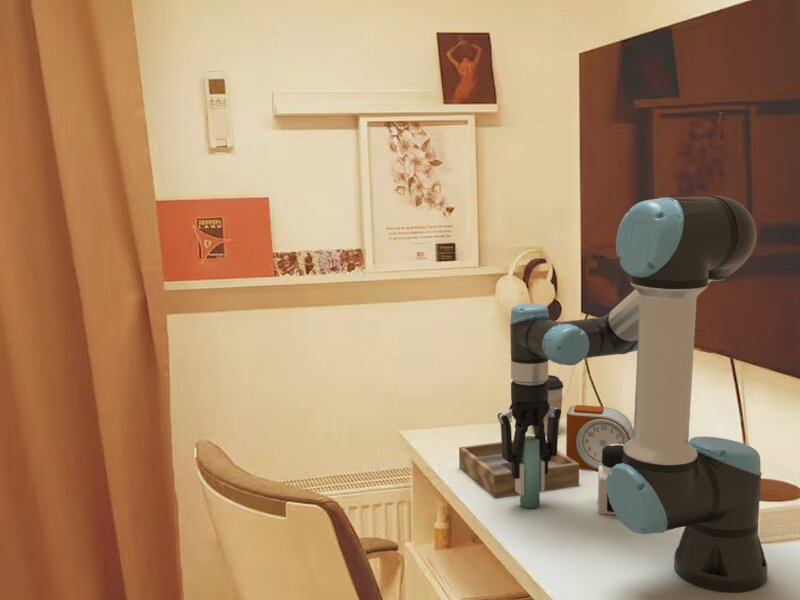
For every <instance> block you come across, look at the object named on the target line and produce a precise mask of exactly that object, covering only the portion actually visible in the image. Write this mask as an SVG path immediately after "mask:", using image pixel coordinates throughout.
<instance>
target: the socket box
mask: <svg viewBox="0 0 800 600" xmlns="http://www.w3.org/2000/svg"><path fill="white" fill-rule="evenodd" d="M512 446H513V440H512ZM458 451H459V454H458V455H459V457H458V458H459V460H458V461H459V464H458V465H459V469H460V470H461V471H462V472H463V473H465V474H466V475H467V476H468V477H469V478H470V479H472V480H473V481H474V482H475V483H476V482H477V484H478V486H480V487H481V488H482V489H484V490H485V492H486V493H488V494H489V495H491V496H492V497H493V498H494V499H498V498H506V497H511V496H512V497H513V496H520V494H519V493H517V492H516V491H515V478H513V477H512V475H511V462H508V461H506V460H505V459H503V457H502V441H499V442H492V443H491V442H490V443H484V444H476V445H468V446H461V447H459V449H458ZM550 458H551V460H550V461H548V474H546V475H545V492H546V491H552V490H558V489H560V490H561V489H566V488H572V487H573V488H574V487H579V486H580V469H579V463H577V462H576V461H574V460H572V459H571V458H569V457H568V456H566V454H564V453H563V452H561V451H560V450H558V449H557V455H556V456H552V457H550Z"/></svg>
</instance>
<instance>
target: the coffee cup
mask: <svg viewBox="0 0 800 600" xmlns="http://www.w3.org/2000/svg"><path fill="white" fill-rule="evenodd" d="M546 381H547V382H548V403H549V405H550V407H556V408H558V409H560V410H561V411H562V404H563V388H564V384H563V383H564V382H563V381H562V380H560V378H559V377H558V376H556V375H552V374H551V375H550V374H548V379H547V380H546ZM561 418H562V414H561V415H560V418H559V421H558V435H559V432H560V422H561ZM543 421H544V426H545V428H544V432H545V437H546V438H547V423H548V414H546V416H545V418H544V419H543ZM531 432H532V434H533V435H535V433H534V428H533V426H532V425H531Z"/></svg>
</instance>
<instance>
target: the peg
mask: <svg viewBox="0 0 800 600" xmlns="http://www.w3.org/2000/svg"><path fill="white" fill-rule="evenodd" d="M521 463H523V464H524V495H519V502H520V503H519V505H520V506H521V507H524V508H531V509H534V508H537V507H539V506H540V504H541V503H540V502H541V501H540V498H541V497H540V493H541V492H540V439H539V438H537V437H536V436H535V435H525V441H524V446H523V452H522V457H521Z"/></svg>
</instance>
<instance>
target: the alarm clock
mask: <svg viewBox="0 0 800 600" xmlns="http://www.w3.org/2000/svg"><path fill="white" fill-rule="evenodd" d="M633 435H634V426H633V424H632V422H631V421H630V420H629V418H628V417H627V416H626V415H625V414H624V413H622V412H621V411H619V410H617V409H615V408H611V407H604V406H597V405H583V404H582V405H581V404H575V405H573V406H571V405H570V407H569V408H568V409H567V411H566V437H565V438H566V439H565V440H566V444H565V445H566V446H565V448H566V449H565V450H566V451H565V452H566V453H565V455H566V456H568V457H569V458H571V459H572V460H574V461H576V462H577V463H579V470H585V471H586V470H588V471H597V472H598V469H599V466H600V465H602V449H603V448H604V447H605V446H608V445H611V444H623V445H625V443H627V442H628V441H629V440H630V439H632V438H633Z"/></svg>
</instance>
